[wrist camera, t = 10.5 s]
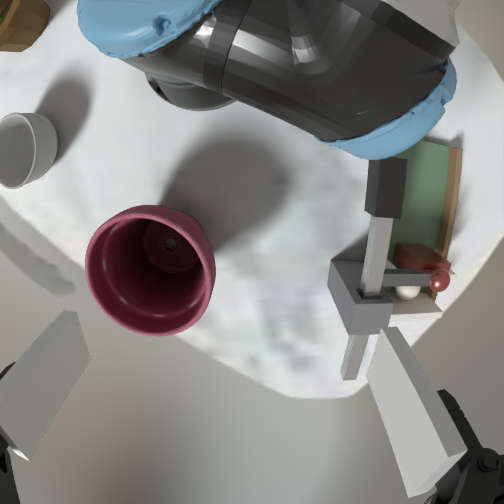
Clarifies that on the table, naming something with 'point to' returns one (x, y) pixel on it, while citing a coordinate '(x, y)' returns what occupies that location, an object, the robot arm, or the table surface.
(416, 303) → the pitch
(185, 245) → the plant pot
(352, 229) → the table surface
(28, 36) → the flowerpot
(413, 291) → the ball
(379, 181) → the slider
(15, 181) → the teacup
